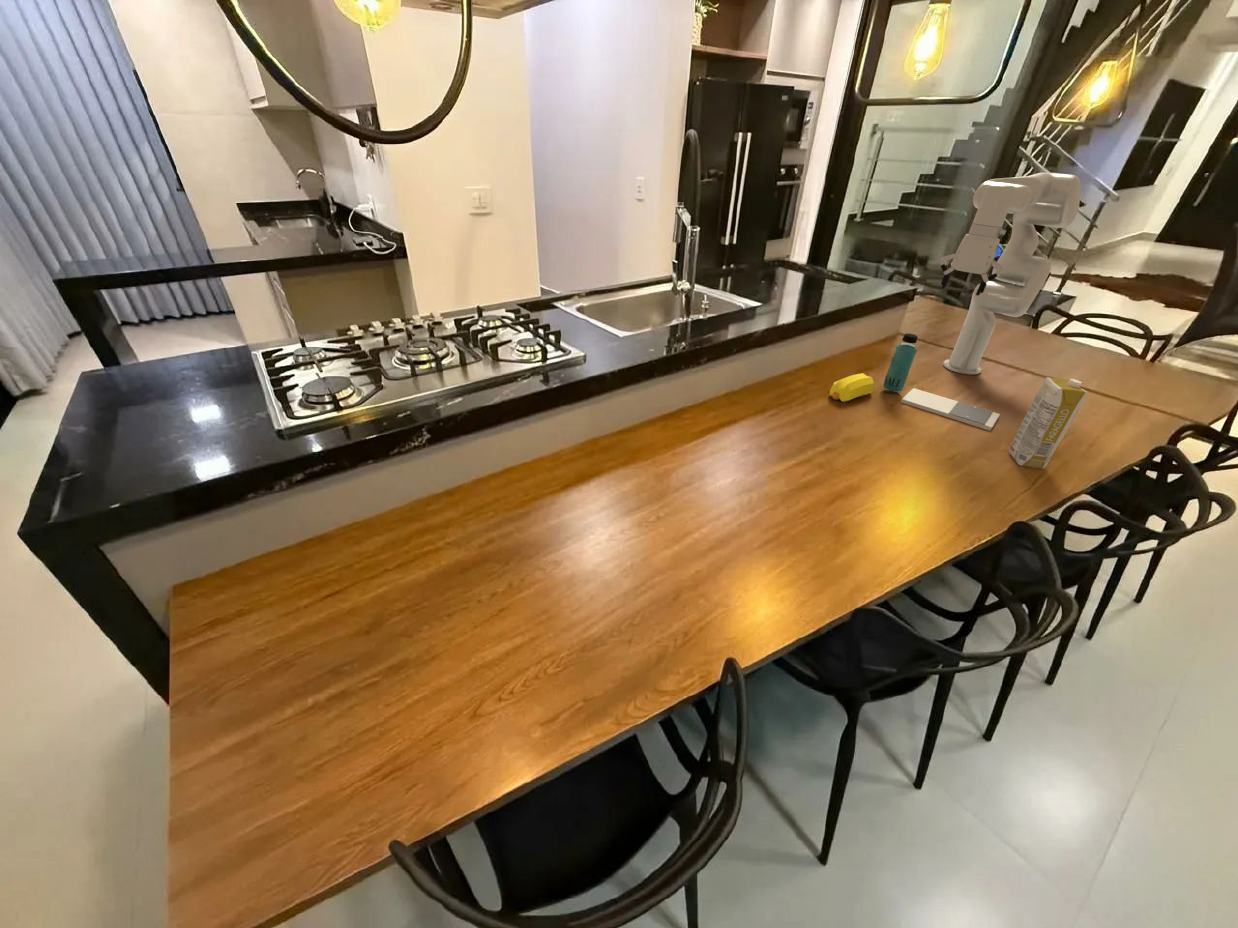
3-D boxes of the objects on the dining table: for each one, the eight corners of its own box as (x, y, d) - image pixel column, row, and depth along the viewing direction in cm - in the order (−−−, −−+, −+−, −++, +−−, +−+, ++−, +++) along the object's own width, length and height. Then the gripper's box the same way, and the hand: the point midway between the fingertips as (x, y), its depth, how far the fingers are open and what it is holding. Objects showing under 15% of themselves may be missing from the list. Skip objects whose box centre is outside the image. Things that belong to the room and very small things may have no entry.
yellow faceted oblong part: (822, 396, 177) (842, 406, 172) (827, 378, 173) (847, 387, 168) (857, 386, 185) (877, 394, 180) (863, 367, 182) (883, 376, 176)
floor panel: (912, 391, 183) (913, 387, 182) (998, 417, 169) (1000, 413, 168) (900, 402, 175) (902, 398, 174) (990, 430, 161) (992, 426, 161)
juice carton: (1049, 471, 143) (1096, 389, 130) (1016, 467, 145) (1060, 385, 131) (1033, 453, 151) (1077, 374, 138) (1003, 449, 152) (1043, 370, 139)
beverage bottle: (897, 388, 184) (918, 331, 173) (904, 397, 179) (925, 339, 168) (878, 387, 185) (897, 330, 174) (884, 395, 179) (904, 337, 168)
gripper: (1020, 235, 155) (994, 295, 164) (954, 226, 164) (933, 283, 173) (1016, 237, 150) (989, 299, 159) (949, 227, 159) (927, 287, 168)
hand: (960, 291), depth 166 cm, fingers open, 9 cm apart
